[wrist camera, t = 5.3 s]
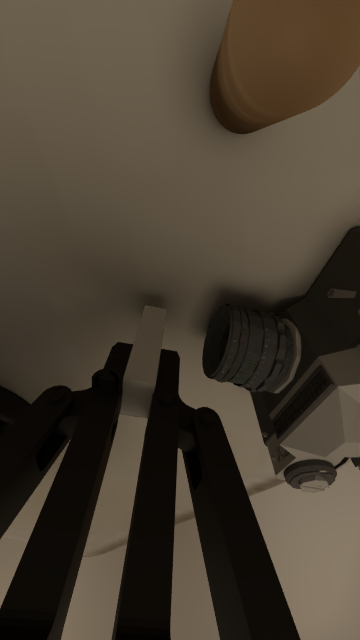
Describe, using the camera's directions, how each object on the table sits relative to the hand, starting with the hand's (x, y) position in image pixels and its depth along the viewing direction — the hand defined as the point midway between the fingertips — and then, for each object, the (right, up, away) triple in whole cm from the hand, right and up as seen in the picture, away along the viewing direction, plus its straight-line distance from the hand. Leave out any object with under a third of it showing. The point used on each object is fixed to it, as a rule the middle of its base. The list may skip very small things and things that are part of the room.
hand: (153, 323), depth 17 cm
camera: (+9, 0, +2) cm, 10 cm away
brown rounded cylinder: (+5, +11, -5) cm, 13 cm away
